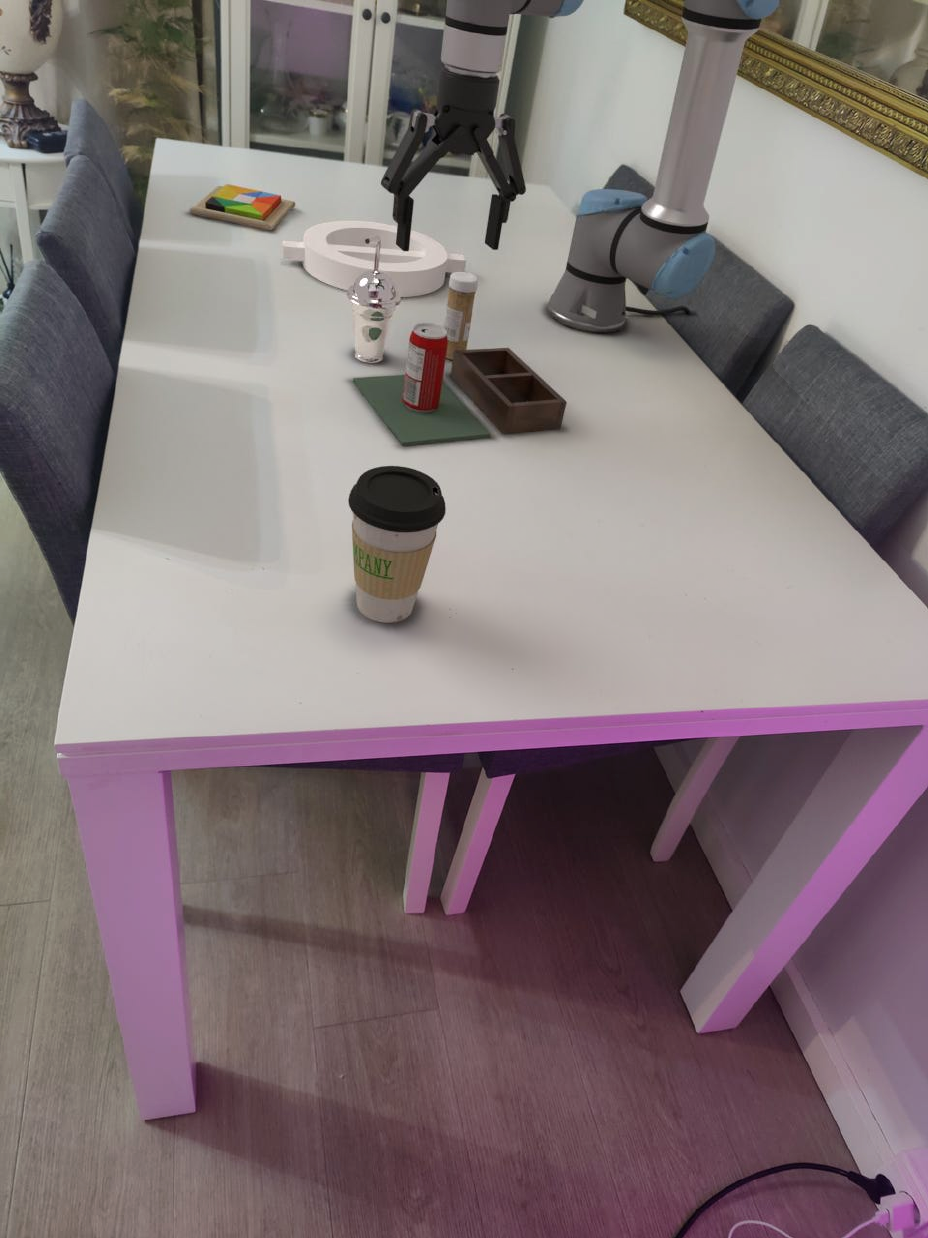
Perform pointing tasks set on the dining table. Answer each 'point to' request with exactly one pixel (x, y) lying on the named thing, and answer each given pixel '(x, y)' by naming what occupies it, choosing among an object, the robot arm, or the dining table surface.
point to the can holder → (507, 390)
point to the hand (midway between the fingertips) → (447, 247)
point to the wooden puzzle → (243, 206)
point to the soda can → (425, 367)
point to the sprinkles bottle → (459, 310)
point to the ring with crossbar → (372, 256)
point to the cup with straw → (372, 309)
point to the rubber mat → (420, 413)
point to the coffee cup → (392, 538)
